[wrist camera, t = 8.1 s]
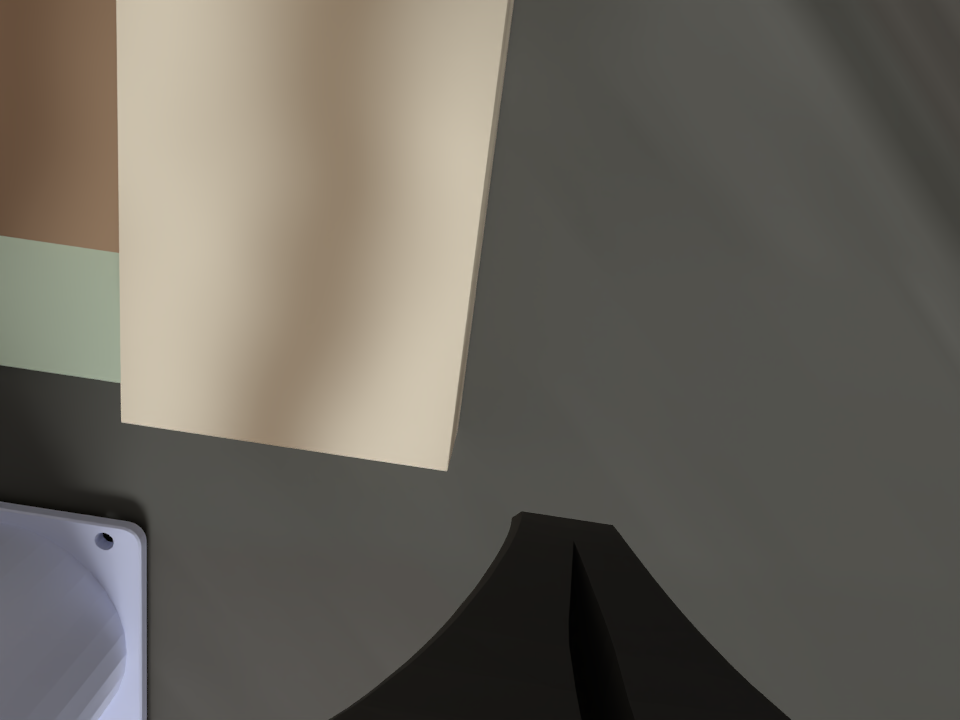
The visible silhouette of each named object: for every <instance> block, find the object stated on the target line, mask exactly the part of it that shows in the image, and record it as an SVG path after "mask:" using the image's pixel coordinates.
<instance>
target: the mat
mask: <svg viewBox="0 0 960 720" xmlns="http://www.w3.org/2000/svg"><path fill="white" fill-rule="evenodd" d="M0 365H3V366H10V367H16V368H23V369H30V370H36V371H43V372H50V373H56V374H63V375H70V376H77V377H83V378H90V379H97V380H103V381H110V382H117V383H121V362H120V277H119V253H116V252H109V251H102V250H95V249H88V248H82V247H75V246H68V245H61V244H54V243H47V242H40V241H34V240H27V239H20V238H13V237H6V236H0Z"/></svg>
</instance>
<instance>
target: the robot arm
mask: <svg viewBox="0 0 960 720" xmlns="http://www.w3.org/2000/svg"><path fill="white" fill-rule="evenodd" d="M102 533H106V534H109V535H110V536H111V537H112V538H113V542H110V541H107V540H106V539H105V538H104V537H103V534H102ZM0 720H147V540H146V535H145V533H144V531H143V530H142V528H141V527H139V526H138V525H137V524H135V523H132V522H129V521H123V520H116V519H110V518H103V517H97V516H91V515H84V514H78V513H71V512H65V511H58V510H52V509H45V508H39V507H32V506H26V505H19V504H13V503H6V502H0ZM329 720H791V719H790V718H789V717H787V716H786V715H785V714H784V713H783V712H782V711H781V710H780V709H778V708H777V707H776V706H775V705H774V704H773V703H772V702H770V701H769V700H768V699H767V698H766V697H765V696H764V695H763V694H761V693H760V692H759V691H758V690H757V689H756V688H755V687H753V686H752V685H751V684H750V683H749V682H748V681H747V680H746V679H745V678H744V677H743V676H742V675H741V674H740V673H739V672H738V671H737V670H735V669H734V668H733V667H732V666H731V665H730V664H729V663H728V662H727V660H726V659H725V658H724V657H723V656H722V655H721V654H720V653H719V652H718V651H717V650H716V649H715V648H714V647H713V646H712V645H711V644H710V643H709V642H708V641H707V640H706V639H705V637H704V636H703V635H702V634H701V633H700V632H699V631H698V630H697V629H696V628H695V627H694V626H693V624H692V623H691V622H690V621H689V620H688V619H687V618H686V617H685V615H684V614H683V613H682V612H681V611H680V610H679V608H678V607H677V606H676V605H675V604H674V603H673V601H672V600H671V599H670V598H669V597H668V595H667V594H666V593H665V592H664V591H663V589H662V588H661V587H660V586H659V584H658V583H657V582H656V581H655V579H654V578H653V577H652V576H651V574H650V573H649V572H648V570H647V569H646V568H645V567H644V565H643V564H642V563H641V561H640V560H639V559H638V558H637V556H636V555H635V554H634V552H633V551H632V550H631V548H630V547H629V546H628V544H627V543H626V542H625V540H624V539H623V538H622V536H621V535H620V534H619V532H618V531H617V530H616V529H615V527H614V526H613V525H608V524H601V523H595V522H588V521H581V520H575V519H568V518H562V517H555V516H548V515H542V514H535V513H529V512H520V513H519V514H517V515H516V516H514V517H513V518H512V522H511V527H510V530H509V533H508V535H507V538H506V540H505V542H504V544H503V545H502V547H501V549H500V551H499V553H498V555H497V556H496V558H495V559H494V561H493V562H492V564H491V565H490V567H489V568H488V570H487V571H486V573H485V574H484V576H483V577H482V579H481V580H480V582H479V583H478V585H477V586H476V587H475V589H474V590H473V591H472V592H471V594H470V595H469V596H468V597H467V599H466V600H465V601H464V602H463V603H462V605H461V606H460V607H459V608H458V609H457V611H456V612H455V613H454V614H453V615H452V617H451V618H450V619H449V620H448V621H447V622H446V624H445V625H444V626H443V627H442V628H441V629H440V630H439V631H438V632H437V633H436V634H435V635H434V636H433V637H432V638H431V639H430V640H429V641H428V642H427V643H426V644H425V645H424V646H423V647H422V648H421V649H420V650H419V651H418V652H417V653H416V654H415V655H413V656H412V657H411V658H410V659H409V660H408V661H407V662H406V663H405V664H403V665H402V666H401V667H400V668H399V669H397V670H396V671H395V672H394V673H393V674H391V675H390V676H389V677H388V678H386V679H385V680H384V681H383V682H382V683H380V684H379V685H378V686H377V687H375V688H374V689H373V690H372V691H370V692H369V693H368V694H366V695H365V696H364V697H362V698H361V699H360V700H358V701H357V702H355V703H354V704H353V705H351V706H350V707H348V708H347V709H345V710H344V711H342V712H340V713H339V714H337V715H336V716H334V717H333V718H331V719H329Z"/></svg>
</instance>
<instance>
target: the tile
mask: <svg viewBox="0 0 960 720" xmlns="http://www.w3.org/2000/svg"><path fill="white" fill-rule="evenodd" d="M0 236H6V237H13V238H20V239H27V240H34V241H40V242H47V243H54V244H61V245H68V246H75V247H82V248H88V249H95V250H102V251H109V252H116V253H119V192H118V107H117V23H116V0H0Z"/></svg>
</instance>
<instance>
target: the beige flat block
mask: <svg viewBox="0 0 960 720" xmlns="http://www.w3.org/2000/svg"><path fill="white" fill-rule="evenodd" d="M513 5H514V0H116V23H117V107H118V192H119V277H120V362H121V422H123V423H130V424H136V425H143V426H150V427H156V428H163V429H170V430H176V431H183V432H189V433H196V434H203V435H209V436H216V437H223V438H229V439H236V440H243V441H249V442H256V443H263V444H269V445H276V446H282V447H289V448H296V449H302V450H309V451H316V452H322V453H329V454H336V455H342V456H349V457H356V458H362V459H369V460H375V461H382V462H389V463H395V464H402V465H409V466H415V467H422V468H429V469H435V470H442V471H447V469H448V465H449V461H450V457H451V454H452V450H453V446H454V442H455V438H456V434H457V430H458V424H459V417H460V409H461V401H462V394H463V386H464V378H465V371H466V363H467V356H468V348H469V340H470V333H471V325H472V317H473V310H474V302H475V295H476V287H477V279H478V272H479V264H480V257H481V249H482V241H483V234H484V226H485V218H486V211H487V203H488V196H489V188H490V180H491V173H492V165H493V157H494V150H495V142H496V135H497V127H498V119H499V112H500V104H501V97H502V89H503V81H504V74H505V66H506V58H507V51H508V43H509V36H510V28H511V20H512V13H513Z"/></svg>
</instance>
